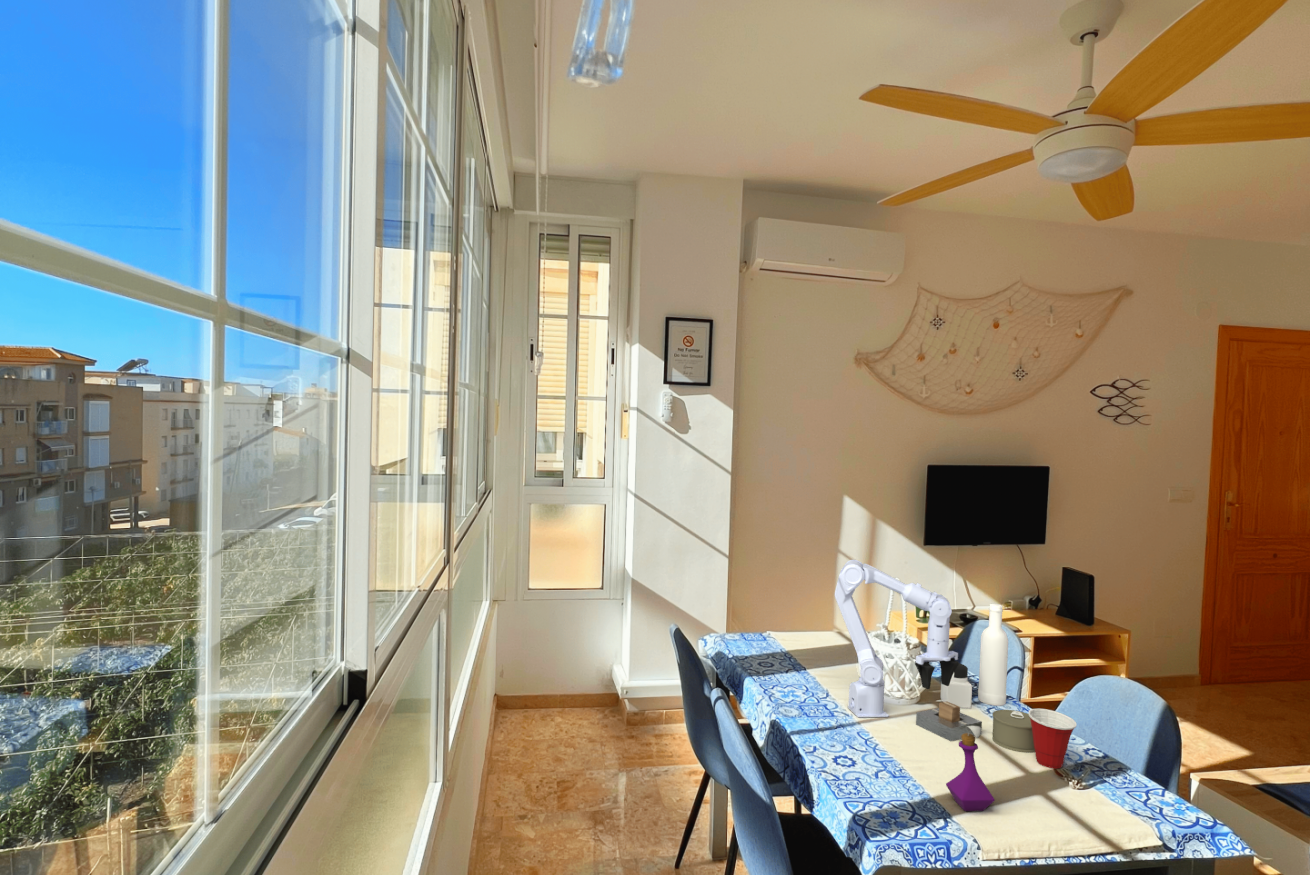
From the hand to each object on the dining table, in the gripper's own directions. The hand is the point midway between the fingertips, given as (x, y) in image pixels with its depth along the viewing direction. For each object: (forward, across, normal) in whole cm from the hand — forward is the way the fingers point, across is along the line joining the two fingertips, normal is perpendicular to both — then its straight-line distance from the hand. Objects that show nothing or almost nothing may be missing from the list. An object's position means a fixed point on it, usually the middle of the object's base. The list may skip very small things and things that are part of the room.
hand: (935, 686), depth 212 cm
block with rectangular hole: (+10, -1, -6) cm, 12 cm away
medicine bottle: (+10, +18, +8) cm, 22 cm away
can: (+10, +9, -19) cm, 24 cm away
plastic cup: (+10, +6, -31) cm, 34 cm away
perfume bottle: (+10, -31, -39) cm, 51 cm away
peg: (+10, -1, -6) cm, 12 cm away
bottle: (+10, +30, +5) cm, 32 cm away
